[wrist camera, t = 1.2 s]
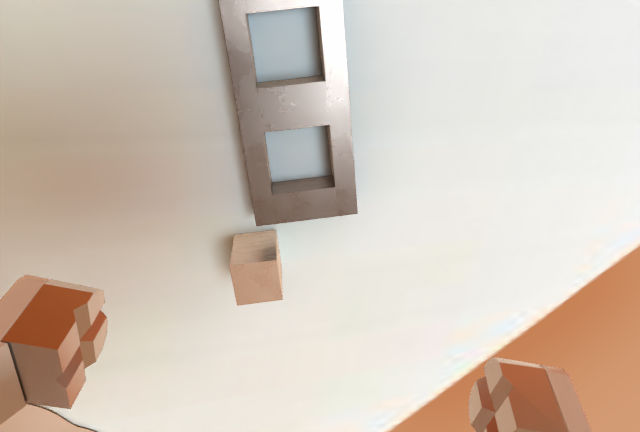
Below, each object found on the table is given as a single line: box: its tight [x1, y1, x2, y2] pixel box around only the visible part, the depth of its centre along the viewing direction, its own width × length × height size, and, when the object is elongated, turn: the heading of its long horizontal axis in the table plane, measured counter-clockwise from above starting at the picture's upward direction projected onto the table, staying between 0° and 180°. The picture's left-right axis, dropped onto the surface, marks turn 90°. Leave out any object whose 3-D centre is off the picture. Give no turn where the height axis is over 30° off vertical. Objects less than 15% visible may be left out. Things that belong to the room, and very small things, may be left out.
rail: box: [219, 0, 358, 226], centre depth 41 cm, size 20×9×3 cm, turn 6°
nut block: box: [229, 230, 283, 305], centre depth 46 cm, size 4×4×6 cm
